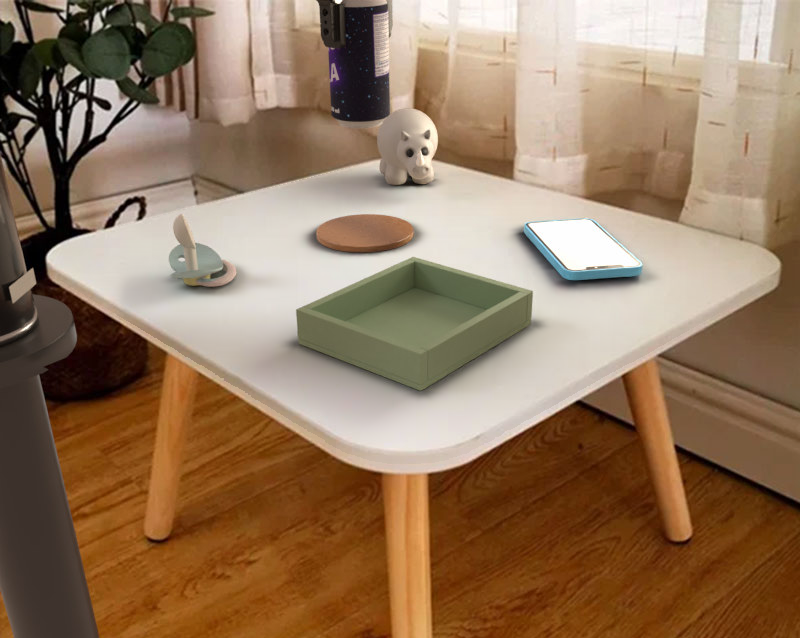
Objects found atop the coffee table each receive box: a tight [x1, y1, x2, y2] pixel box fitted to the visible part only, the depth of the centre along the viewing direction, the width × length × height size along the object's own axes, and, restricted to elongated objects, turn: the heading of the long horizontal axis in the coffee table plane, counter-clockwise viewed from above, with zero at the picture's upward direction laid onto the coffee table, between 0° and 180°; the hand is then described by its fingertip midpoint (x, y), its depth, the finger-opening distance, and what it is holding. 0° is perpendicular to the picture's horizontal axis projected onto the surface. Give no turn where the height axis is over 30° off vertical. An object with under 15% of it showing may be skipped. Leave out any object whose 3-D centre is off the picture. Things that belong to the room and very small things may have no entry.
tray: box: [295, 256, 534, 392], centre depth 76 cm, size 15×13×3 cm
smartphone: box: [523, 217, 644, 281], centre depth 92 cm, size 8×1×15 cm
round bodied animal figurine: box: [376, 107, 439, 186], centre depth 110 cm, size 7×12×8 cm, turn 8°
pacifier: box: [168, 213, 237, 288], centre depth 86 cm, size 7×6×6 cm
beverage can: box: [327, 0, 391, 130], centre depth 89 cm, size 6×6×12 cm
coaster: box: [316, 213, 414, 253], centre depth 97 cm, size 10×10×1 cm
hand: (357, 41), depth 88 cm, fingers closed on beverage can, 5 cm apart
